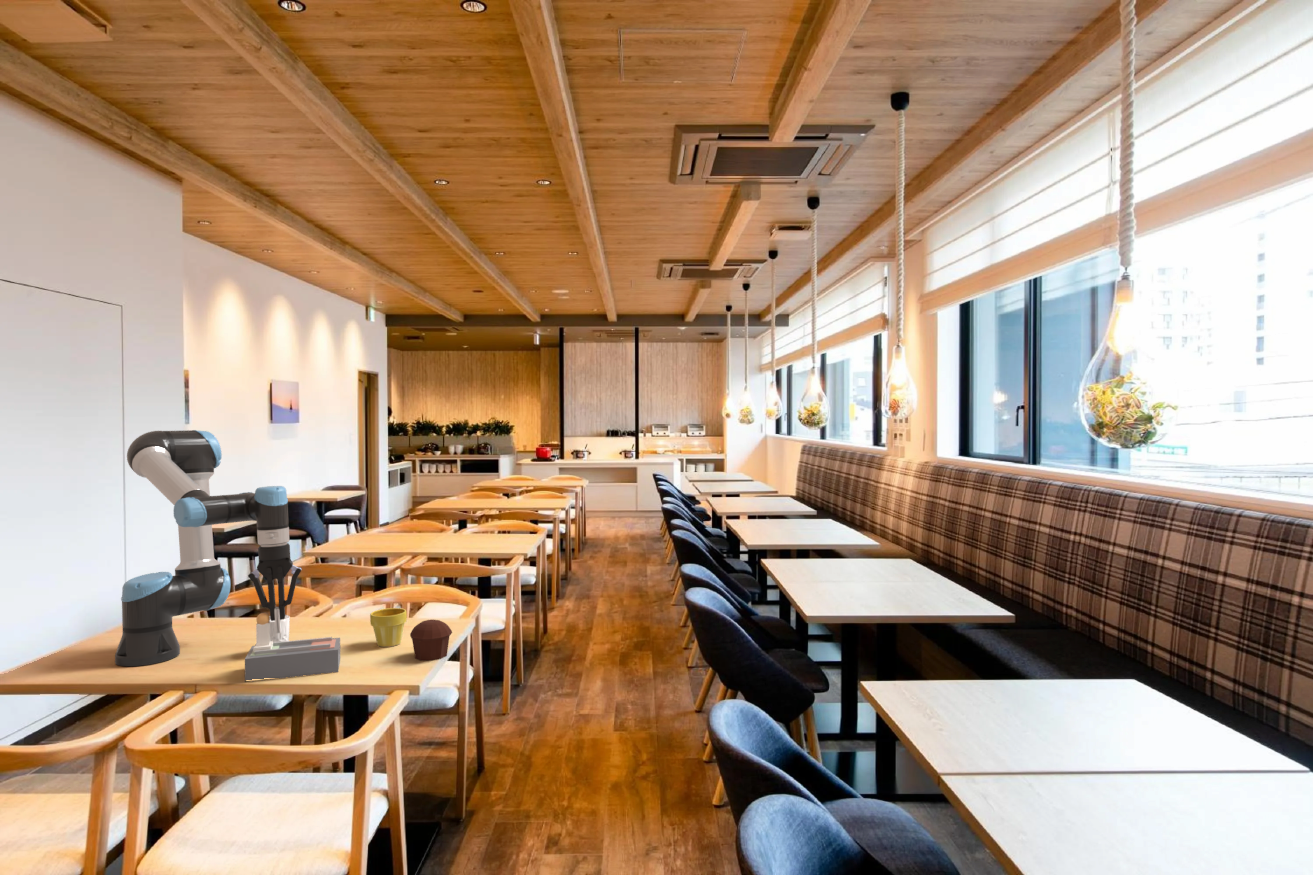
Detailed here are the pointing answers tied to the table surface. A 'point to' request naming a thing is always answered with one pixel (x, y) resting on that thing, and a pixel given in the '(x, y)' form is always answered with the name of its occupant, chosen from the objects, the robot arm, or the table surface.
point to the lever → (263, 633)
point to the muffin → (430, 640)
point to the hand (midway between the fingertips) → (278, 631)
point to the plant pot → (388, 626)
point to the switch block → (294, 659)
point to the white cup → (284, 632)
